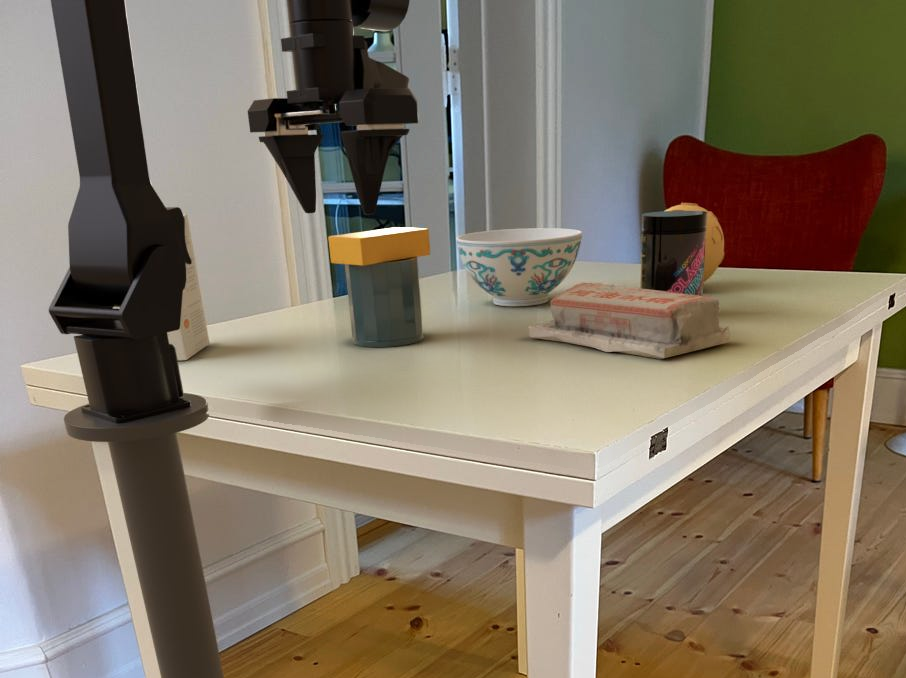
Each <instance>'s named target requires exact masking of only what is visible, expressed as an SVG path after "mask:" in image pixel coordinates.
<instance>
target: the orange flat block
mask: <svg viewBox="0 0 906 678" xmlns="http://www.w3.org/2000/svg"><path fill="white" fill-rule="evenodd" d="M327 237H328V246H329V247H328V248H329V256H330V263H331V264H337V265H345V264H349V265H361V266H364V265H370V264H376V263H383V262H389V261H395V260H401V259H407V258H413V257H418V258H420V257H424V256H425V257H426V256H431V243H430V241H431V240H430V229H429V228H425V227H424V228H423V227H400V226H395V227H388V228H380V229H373V230H365V231H358V232H350V233H343V234H336V235H329V236H327Z"/></svg>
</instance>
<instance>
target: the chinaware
mask: <svg viewBox="0 0 906 678" xmlns="http://www.w3.org/2000/svg"><path fill="white" fill-rule="evenodd" d="M582 237H583V232H582V231H581V230H578V229H574V228H561V227H533V228H532V227H531V228H530V227H529V228H526V227H525V228H508V229H506V228H505V229H495V230H486V231H476V232H469V233H464V234H461V235H458V236H456V238H455V240H456V245H457V250H458V253H459V257H460V259H461V261H462V264H463V266H464V268H465V270H466V272H467V273H468V275H469V277H471V279H472V280H473V282H475V284H476V285H478V286H479V287H480V289H482V290H483V291H485V292H486V293H488V294H489V295H490V296H492V302H493V304H494V305H496V306H500V307H529V306H538V305H542V304H546V303H547V302H548V301H549V294H550V293H551V292H552V291H554V290H556V288H557V287H559V286H560V284H562V282H563V281H565V279H566V278H567V276H568V275H569V274H570V272H571V270H572V268H573V267H574V264H575V262H576V260H577V257H578V254H579V252H580V248H581V243H582Z"/></svg>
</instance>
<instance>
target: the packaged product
mask: <svg viewBox="0 0 906 678" xmlns="http://www.w3.org/2000/svg"><path fill="white" fill-rule="evenodd" d="M549 309H550V311H551V314H552V317H553V320H550V321H547V322H542V323H536V326H532V325H531V326H530V325H529V326H528V327H527V328H528V334H529V338H531V339H539V340H545V341H553V342H561V343H566V344H572V345H577V346H581V347H582V346H583V347H587V348H592V349H597V350H599V351H603V352H605V353H611V352H614V353H620V354H627V355H633V356H639V357H647V358H652V359H658V360H662V359H667V358H670V357H675V356H678V355H679V356H680V355H683V354H686V353H691V352H697V351H701V350H705V349H708V348H711V347H715V346H719V345H723V344H727V343H730V342H731V341H730V340H731V333H730V332H731V331H730V325H729V326H726V327H725V326H724V327H722V326H720V318H719V313H720V310H721V309H720V301H719V299H717V298H715V297H711V296H705V295H703V296H699V295H689V294H682V293H675V292H667V291H658V290H649V289H640V287H639V288H638V287H630V286H624V285H623V286H622V285H614V284H607V283H601V282H600V283H598V282H594V283H593V282H580V283H577V284H575V285H573V286H572V287H570V288H568V289H566V290H565V291H563V292H561V293H559V294H558V295H556V296H554V298H552V299H551V300H550V303H549Z"/></svg>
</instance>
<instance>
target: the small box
mask: <svg viewBox="0 0 906 678" xmlns="http://www.w3.org/2000/svg"><path fill="white" fill-rule="evenodd" d="M183 216H184V219H185V242H186V247H187V251H188V254H189V256H190V258H191V261H192V263H191V264H186V285H185V289H184V290H183V296H182V309H181V321H180V329H179V330H176V331H171V332H167V335H168V340H169V344H172V345H173V346H175V349H176V355H177V360H178V362H179V361H188V360H189V359H190V358H191V357H193V356H194V355H196V354H197V353H198V352H200V351H201V350H203V349H204V348H206V347H207V346H209V345H210V344H211V342H210V337H209V331H208V326H207V319H206V315H205V310H204V304H203V298H202V293H201V292H202V291H201V288H200V286H201V285H200V280H199V275H198V268H197V263H196V256H195V252H194V246H193V240H192V234H191V229H190V223H189V218H188V217H189V216H188V214H185V213H183ZM115 309H120V307H115Z"/></svg>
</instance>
